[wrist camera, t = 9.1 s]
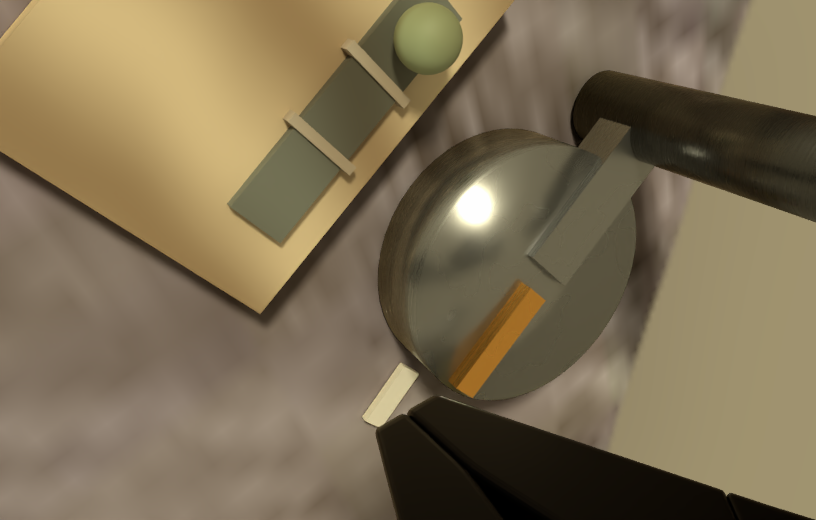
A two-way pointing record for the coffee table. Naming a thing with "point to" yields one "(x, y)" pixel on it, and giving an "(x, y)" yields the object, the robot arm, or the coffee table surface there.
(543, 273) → the grey piece
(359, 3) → the stand
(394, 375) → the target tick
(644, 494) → the robot arm
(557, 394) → the coffee table surface
